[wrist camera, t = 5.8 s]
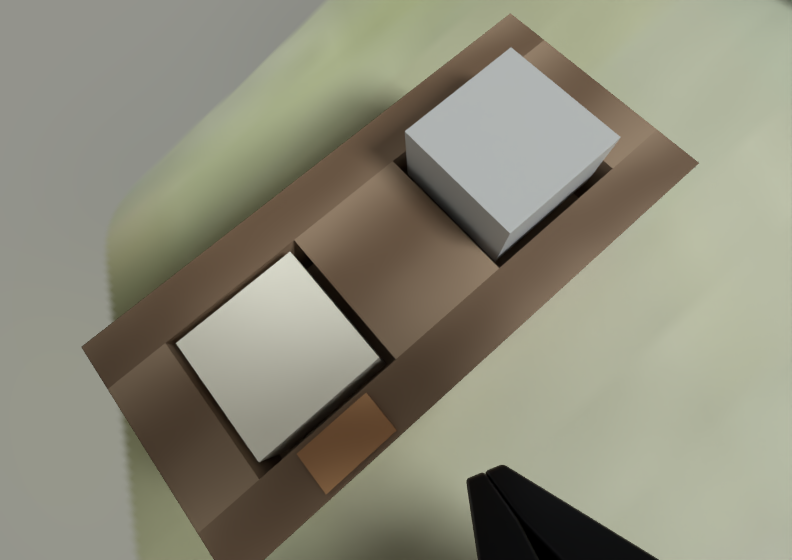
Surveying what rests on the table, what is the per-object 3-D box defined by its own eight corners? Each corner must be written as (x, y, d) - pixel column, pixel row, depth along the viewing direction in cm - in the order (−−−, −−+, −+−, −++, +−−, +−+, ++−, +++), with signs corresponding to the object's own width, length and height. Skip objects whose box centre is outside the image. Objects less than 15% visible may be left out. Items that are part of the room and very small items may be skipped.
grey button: (587, 180, 17) (620, 137, 14) (495, 262, 17) (510, 233, 14) (497, 101, 18) (511, 46, 16) (407, 174, 18) (404, 131, 15)
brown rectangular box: (609, 238, 24) (702, 160, 16) (302, 518, 21) (229, 591, 13) (484, 126, 26) (511, 9, 18) (193, 363, 23) (77, 346, 15)
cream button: (386, 363, 18) (378, 357, 15) (286, 451, 17) (259, 462, 14) (310, 273, 19) (290, 251, 16) (215, 351, 18) (176, 343, 15)
